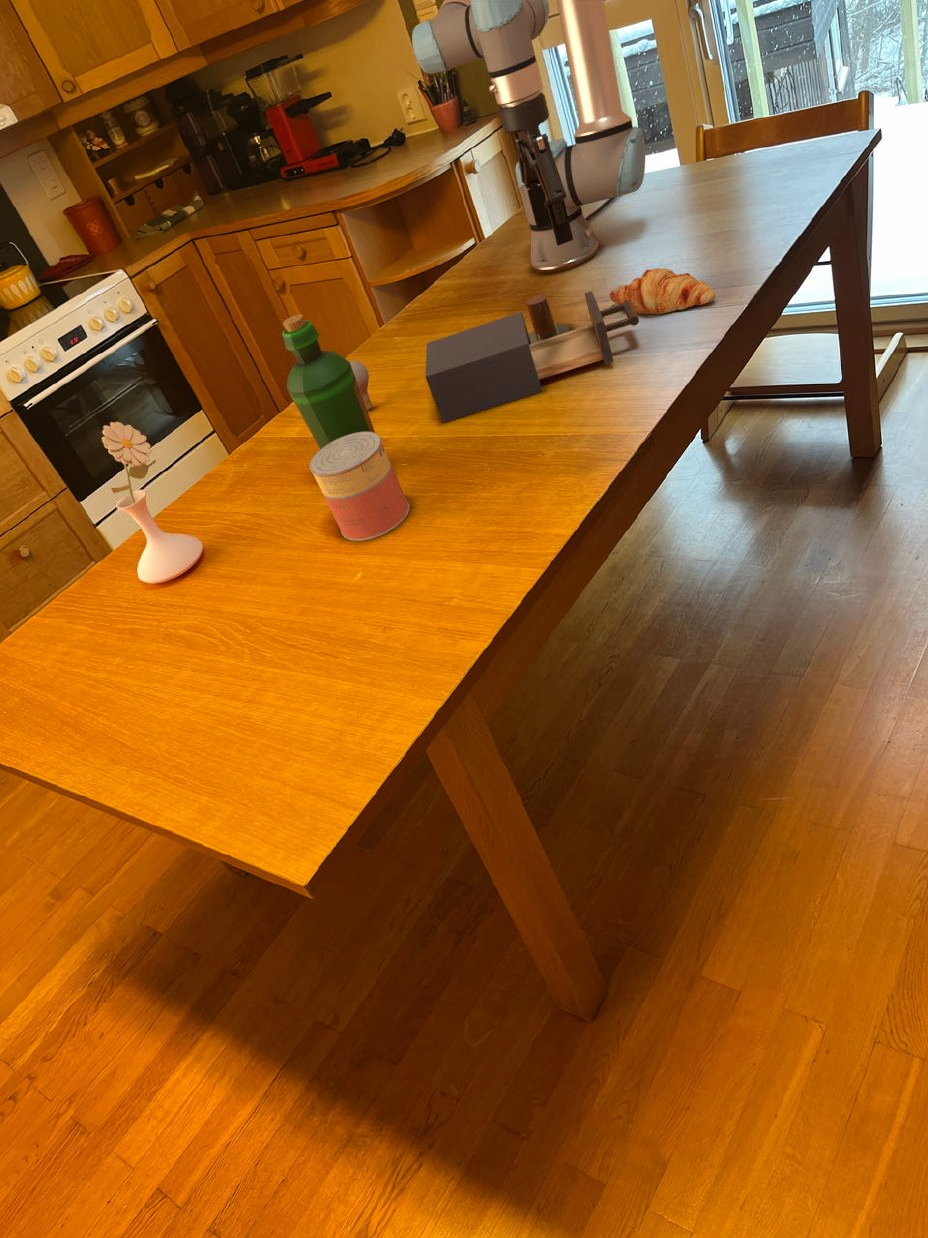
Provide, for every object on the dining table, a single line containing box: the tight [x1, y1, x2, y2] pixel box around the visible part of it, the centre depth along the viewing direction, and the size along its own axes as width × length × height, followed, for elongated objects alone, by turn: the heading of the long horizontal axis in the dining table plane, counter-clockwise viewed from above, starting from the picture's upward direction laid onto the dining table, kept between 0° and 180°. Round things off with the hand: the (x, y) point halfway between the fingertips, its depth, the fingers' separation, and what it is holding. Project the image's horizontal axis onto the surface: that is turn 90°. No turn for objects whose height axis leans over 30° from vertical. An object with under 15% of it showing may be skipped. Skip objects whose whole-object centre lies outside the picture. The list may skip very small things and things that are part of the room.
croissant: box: [609, 267, 716, 315], centre depth 163 cm, size 21×10×8 cm, turn 52°
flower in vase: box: [101, 421, 204, 585], centre depth 141 cm, size 13×11×25 cm
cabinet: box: [425, 311, 543, 424], centre depth 158 cm, size 18×15×9 cm
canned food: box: [308, 432, 410, 542], centre depth 135 cm, size 11×11×12 cm
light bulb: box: [348, 360, 373, 412], centre depth 169 cm, size 6×6×10 cm
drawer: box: [529, 290, 640, 381], centre depth 155 cm, size 24×15×7 cm, turn 90°
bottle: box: [281, 313, 376, 450], centre depth 143 cm, size 11×11×28 cm
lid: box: [525, 294, 571, 344], centre depth 168 cm, size 9×9×8 cm
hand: (554, 233), depth 154 cm, fingers open, 13 cm apart
